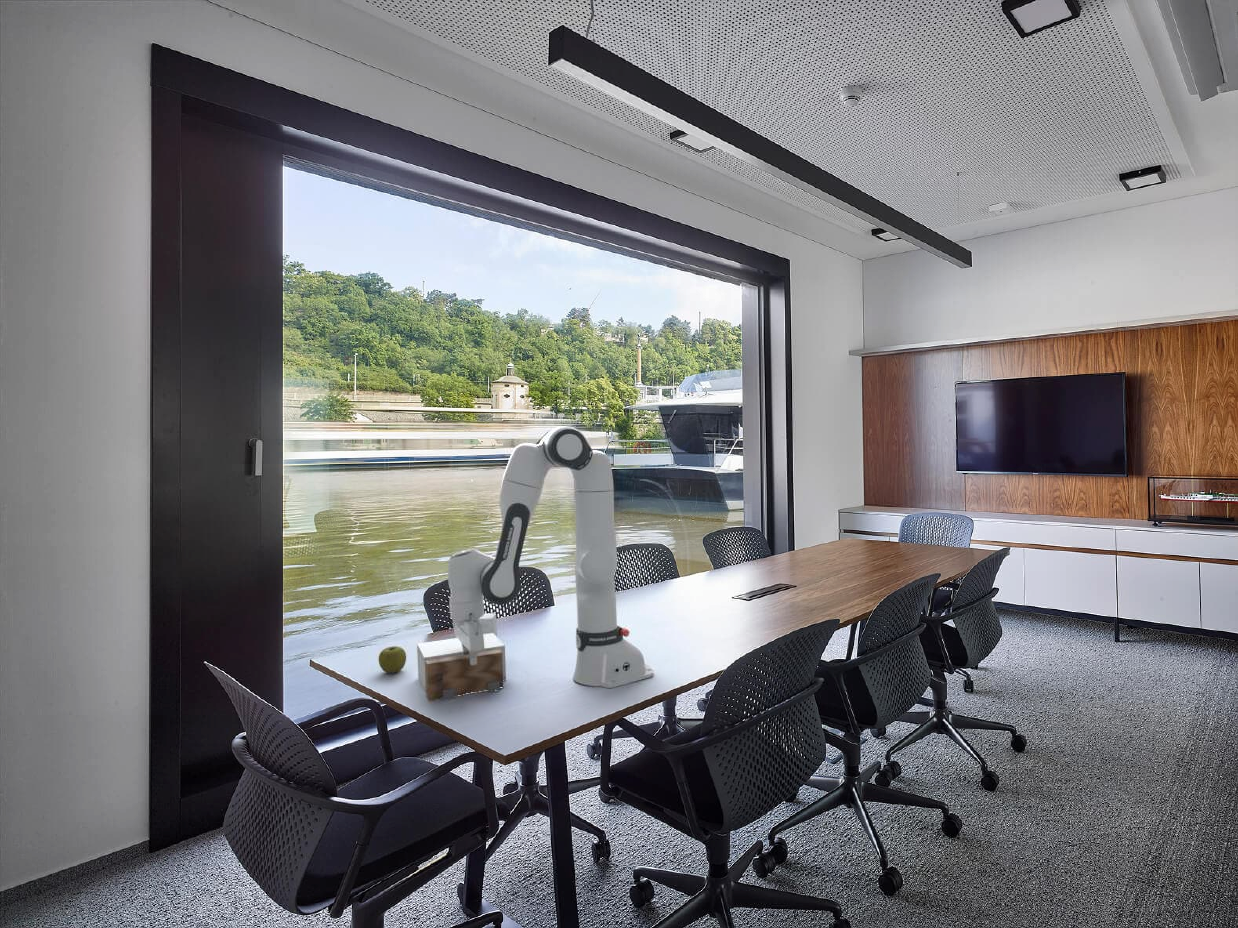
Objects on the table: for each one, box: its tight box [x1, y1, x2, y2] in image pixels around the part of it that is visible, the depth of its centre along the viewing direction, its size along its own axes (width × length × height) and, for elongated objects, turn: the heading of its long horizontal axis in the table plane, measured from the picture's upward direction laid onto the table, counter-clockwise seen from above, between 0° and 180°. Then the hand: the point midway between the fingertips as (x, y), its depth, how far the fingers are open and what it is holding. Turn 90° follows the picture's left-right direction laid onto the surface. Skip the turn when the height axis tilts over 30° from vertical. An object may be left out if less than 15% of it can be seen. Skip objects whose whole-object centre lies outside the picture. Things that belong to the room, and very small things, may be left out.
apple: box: [378, 645, 407, 674], centre depth 208 cm, size 8×8×7 cm
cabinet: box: [416, 633, 507, 701], centre depth 197 cm, size 22×21×10 cm
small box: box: [480, 613, 498, 638], centre depth 219 cm, size 8×6×13 cm
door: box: [425, 649, 504, 702], centre depth 189 cm, size 20×4×10 cm, turn 114°
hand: (470, 660), depth 190 cm, fingers open, 5 cm apart
